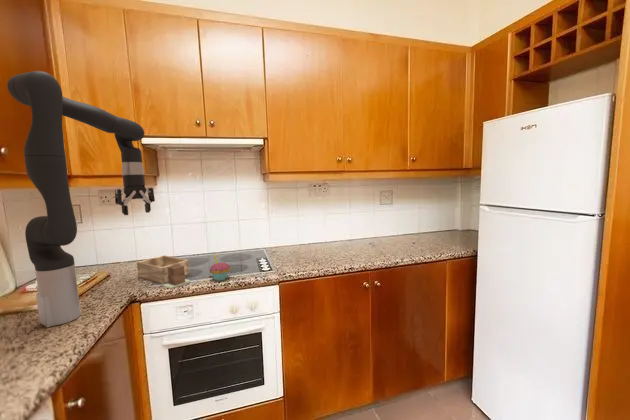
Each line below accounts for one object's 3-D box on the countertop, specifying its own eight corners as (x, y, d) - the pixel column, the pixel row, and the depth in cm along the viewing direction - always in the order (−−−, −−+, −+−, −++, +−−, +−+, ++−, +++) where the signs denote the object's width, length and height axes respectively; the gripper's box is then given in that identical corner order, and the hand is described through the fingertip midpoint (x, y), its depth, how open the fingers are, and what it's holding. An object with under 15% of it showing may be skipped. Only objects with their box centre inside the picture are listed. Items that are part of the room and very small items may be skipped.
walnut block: (168, 283, 121) (167, 267, 120) (178, 280, 125) (177, 264, 124) (175, 285, 119) (174, 268, 118) (185, 281, 123) (183, 265, 122)
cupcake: (209, 283, 122) (207, 255, 121) (210, 276, 130) (209, 250, 129) (230, 280, 124) (229, 253, 123) (230, 274, 132) (229, 248, 131)
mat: (170, 288, 117) (170, 287, 117) (163, 286, 120) (163, 285, 119) (190, 281, 125) (190, 280, 125) (183, 279, 127) (183, 278, 127)
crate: (162, 284, 122) (161, 268, 122) (138, 277, 132) (136, 262, 131) (190, 275, 133) (188, 260, 133) (165, 269, 143) (164, 255, 142)
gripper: (146, 174, 125) (149, 211, 127) (109, 174, 113) (113, 215, 115) (156, 173, 122) (159, 212, 123) (118, 173, 110) (123, 216, 111)
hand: (137, 213), depth 119 cm, fingers open, 8 cm apart
